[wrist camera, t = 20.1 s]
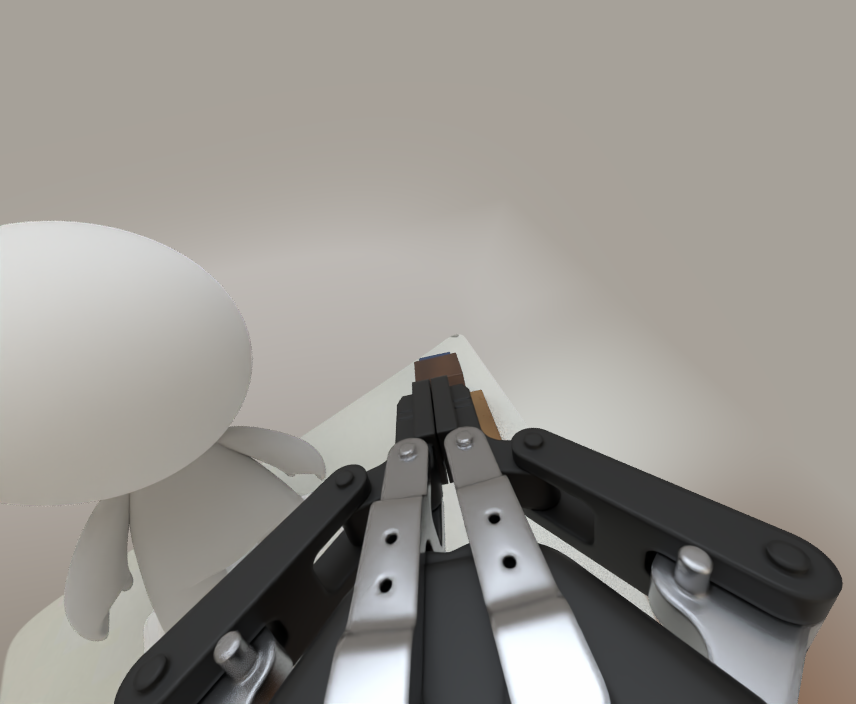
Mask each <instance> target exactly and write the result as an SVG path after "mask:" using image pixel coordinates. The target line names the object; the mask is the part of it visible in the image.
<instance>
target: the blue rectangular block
mask: <svg viewBox="0 0 856 704" xmlns="http://www.w3.org/2000/svg"><path fill="white" fill-rule="evenodd" d="M447 354H450V352H447V353H442V354H437V355H433V356H428V357H424V358H419V361H421V360H425V359H430V358H434V357H439V356H443V355H447Z"/></svg>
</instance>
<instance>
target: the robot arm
mask: <svg viewBox="0 0 856 704" xmlns="http://www.w3.org/2000/svg"><path fill="white" fill-rule="evenodd" d="M430 380H431V383H430ZM430 380H429V379H426V380H421V381H417V382H412V395H407V396H403V397H402V398H401V400H400V401H399V403H398V404H397V419H396V420H397V421H396V440H395V445H394V446H393V447H392V448H391V449H390V451H389V453H388V457H387V461H385V462H384V463H383V464H381V465H379V466H377V467H375V468H373V469H371V470H369V471H367V472H366V470H365V469H364V468H363V467H362V466H360V465H347V466H344V467H342V468H340V469H338V470H336V471H335V472H334V473H333V474H331V475H330V476H329V477H328V478H327V479H326V480H325V481H324V482H323V483H322V484H321V485H320V486H319V487H318V488H317V489H316V490H315V491H314V492H313V493H312V494H311V495H309V496H308V497H307V498H306V499H305V500H304V501H303V502H302V503H301V504H300V505H299V506H298V507H297V508H296V509H295V510H294V511H293V512H292V513H291V514H290V515H289V516H288V517H287V518H285V519H284V520H283V521H282V522H281V523H280V524H279V525H278V526H277V527H276V528H275V529H274V530H273V531H272V532H271V533H270V534H269V535H268V536H267V537H266V538H265V539H264V540H263V541H261V542H260V543H259V544H258V545H257V546H256V547H255V548H254V549H253V550H252V551H251V552H250V553H249V554H248V555H247V556H246V557H245V558H244V559H243V560H242V561H241V562H240V563H238V564H237V565H236V566H235V567H234V568H233V569H232V570H231V571H230V572H229V573H228V574H227V575H226V576H225V577H224V578H223V579H222V580H221V581H220V582H219V583H218V584H217V585H216V586H214V587H213V588H212V589H211V590H210V591H209V592H208V593H207V594H206V595H205V596H204V597H203V598H202V599H201V600H200V601H199V602H198V603H197V604H196V605H195V606H194V607H193V608H192V609H190V610H189V611H188V612H187V613H186V614H185V615H184V616H183V617H182V618H181V619H180V620H179V621H178V622H177V623H176V624H175V625H174V626H173V627H172V628H171V629H170V630H169V631H168V632H166V633H165V634H164V635H163V636H162V637H161V638H160V639H159V640H158V641H157V642H156V643H155V644H154V645H153V646H152V647H151V648H150V649H149V650H148V651H147V652H146V653H145V654H144V655H143V656H142V657H141V658H140V659H139V660H138V661H137V662H136V663H135V664H134V665H133V667H132V668H131V669H130V671H129V672H128V673H127V675H126V677H125V678H124V680H123V682H122V683H121V685H120V687H119V689H118V692H117V694H116V698H115V701H114V704H797V702H798V697H799V691H800V685H801V679H802V673H803V667H804V661H805V655H806V652H807V651H808V649H809V647H810V645H811V643H812V641H813V640H814V638H815V636H816V634H817V633H818V630H819V629H820V627H821V626H822V624H823V622H824V620H825V618H826V617H827V615H828V613H829V611H830V609H831V607H832V606H833V604H834V602H835V601H836V598H837V597H838V595H839V593H840V591H841V590H842V577H841V575H840V573H839V571H838V569H837V568H836V566H835V565H834V563H833V562H832V561H831V560H830V559H829V558H828V557H827V556H826V555H825V554H824V553H823V552H822V551H820V550H819V549H818V548H817V547H815V546H814V545H812V544H811V543H809V542H808V541H806V540H804V539H802V538H800V537H798V536H796V535H794V534H792V533H789V532H787V531H785V530H782V529H780V528H777V527H775V526H773V525H770V524H768V523H765V522H763V521H761V520H758V519H756V518H754V517H751V516H749V515H746V514H744V513H742V512H739V511H737V510H734V509H732V508H730V507H727V506H725V505H722V504H720V503H718V502H715V501H713V500H711V499H708V498H706V497H703V496H701V495H699V494H696V493H694V492H691V491H689V490H687V489H684V488H682V487H680V486H677V485H675V484H673V483H670V482H668V481H665V480H663V479H661V478H658V477H656V476H654V475H651V474H648V473H646V472H644V471H642V470H639V469H637V468H634V467H632V466H630V465H627V464H625V463H622V462H620V461H618V460H615V459H613V458H611V457H608V456H606V455H603V454H601V453H599V452H596V451H594V450H592V449H589V448H587V447H584V446H582V445H580V444H577V443H575V442H573V441H570V440H568V439H565V438H563V437H560V436H558V435H556V434H553V433H551V432H548V431H546V430H543V429H539V428H527V429H523V430H521V431H519V432H517V433H516V434H515V435H514V436H513V438H512V440H497V439H493V438H491V437H489V436H487V435H486V434H485V433H484V432H483V431H482V429H481V426H480V423H479V420H478V417H477V414H476V410H475V407H474V404H473V401H472V398H471V394H470V391H469V389H468V388H467V387H466V386H464V385H463V384H458V385H453V386H449V381H448V377H447V375H444V376H439V377H435V378H431V379H430ZM446 469H447V471H446ZM447 473H448V477H449V481H450V483H453V482H454V485H455V489H456V493H457V497H458V501H459V505H460V508H461V512H462V516H463V520H464V524H465V528H466V532H467V536H468V539H469V543H468V544H466V545H464V546H462V547H460V548H458V549H456V550H454V551H451V552H445V522H444V502H443V499H442V497H443V491H442V485H444V484H448V478H447ZM525 515H526V516H527V517H528V518H530V519H531V520H533V521H534V522H536V523H537V524H539V525H540V526H542V527H543V528H545V529H546V530H548V531H549V532H551V533H552V534H554V535H556V536H557V537H559V538H560V539H562V540H563V541H565V542H566V543H568V544H569V545H571V546H572V547H574V548H575V549H577V550H578V551H580V552H581V553H583V554H584V555H586V556H587V557H589V558H590V559H592V560H593V561H595V562H597V563H598V564H600V565H601V566H603V567H604V568H606V569H607V570H609V571H610V572H612V573H613V574H615V575H616V576H618V577H619V578H621V579H622V580H624V581H625V582H627V583H628V584H630V585H631V586H633V587H634V588H636V589H638V590H639V591H641V592H642V593H644V594H645V595H647V596H648V598H649V603H650V606H651V609H652V611H653V613H654V615H655V616H656V618H657V619H658V620H659V622H660V623H661V624H662V625H663V626H662V625H661V624H659V623H658V622H657V621H655V620H654V619H653V618H651V617H650V616H649V615H647V614H646V613H645V612H643V611H642V610H640V609H639V608H638V607H636V606H635V605H634V604H632V603H631V602H629V601H628V600H627V599H625V598H624V597H623V596H621V595H620V594H619V593H617V592H616V591H614V590H613V589H612V588H610V587H609V586H608V585H606V584H605V583H604V582H602V581H601V580H599V579H598V578H597V577H595V576H594V575H593V574H591V573H590V572H589V571H587V570H586V569H584V568H583V567H582V566H580V565H579V564H578V563H576V562H575V561H574V560H572V559H571V558H569V557H568V556H566V555H564V554H563V553H561V552H559V551H557V550H555V549H553V548H551V547H548V546H546V545H542V544H539V543H537V541H536V539H535V536H534V534H533V532H532V530H531V528H530V525H529V523H528V521H527V519H526V517H525ZM341 527H343V529H344V530H343V531H342V532H341V533H340V534H339V536H338V537H337V538H336V539H335V540H334V541H333V542H332V544H331V545H330V546H329V547H328V548H327V549H326V550H325V552H324V553H323V554H322V555H321V556H320V557H319V558H318V560H317V561H316V562H315V563H314V560H315V558H316V556H317V554H318V553H319V552H320V550H321V549H322V548H323V547H324V546H325V545H326V544H327V543H328V541H329V540H330V539H331V538H332V537H333V536H334V535H335V534H336V532H337V531H338V530H339V529H340V528H341ZM354 585H355V586H354ZM298 660H299V661H298ZM295 664H296V665H295ZM293 667H294V668H293Z"/></svg>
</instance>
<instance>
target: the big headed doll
mask: <svg viewBox="0 0 856 704" xmlns="http://www.w3.org/2000/svg"><path fill="white" fill-rule="evenodd" d="M251 374H252V347H251V341H250V337H249V333H248V330H247V327H246V324H245V321H244V319H243V317H242V315H241V313H240V311H239V309H238V307H237V306H236V304H235V302H234V301H233V299H232V298H231V297H230V295H229V294H228V293H227V291H226V290H225V289H224V288H223V287H222V286H221V284H220V283H219V282H218V281H217V280H216V279H215V278H213V277H212V276H211V275H210V274H209V273H208V272H207V271H206V270H204V269H203V268H202V267H201V266H199V265H198V264H196V263H195V262H193V261H192V260H191V259H189V258H188V257H186V256H185V255H183V254H181V253H180V252H178V251H176V250H174V249H172V248H170V247H168V246H166V245H164V244H162V243H160V242H157V241H155V240H152V239H150V238H147V237H145V236H142V235H139V234H135V233H132V232H129V231H126V230H121V229H117V228H113V227H109V226H103V225H98V224H91V223H82V222H71V221H70V222H69V221H32V222H21V223H12V224H5V225H0V503H2V504H10V505H20V506H62V505H74V504H82V503H89V502H95V501H99V503H98V504H97V506H96V507H95V509H94V510H93V512H92V514H91V515H90V517H89V519H88V521H87V523H86V525H85V527H84V529H83V531H82V533H81V535H80V538H79V540H78V543H77V545H76V548H75V551H74V554H73V557H72V560H71V563H70V567H69V571H68V575H67V580H66V585H65V593H64V606H65V612H66V616H67V619H68V621H69V623H70V625H71V626H72V628H73V629H74V630H75V631H76V632H77V633H78V634H79V635H80V636H82V637H83V638H85V639H88V640H91V641H103V640H105V639H106V638H107V636H108V633H109V610H110V608H111V606H112V605H113V603H114V602H115V600H116V599H117V597H118V596H119V594H120V592H121V591H127V590H129V589H130V588H131V587H132V585H133V577H132V574H131V573H130V571H129V567H128V560H127V542H128V530H129V524H130V532H131V538H132V543H133V547H134V551H135V555H136V558H137V562H138V565H139V569H140V572H141V575H142V579H143V582H144V585H145V588H146V591H147V594H148V596H149V599H150V602H151V604H152V607H153V609H154V611H153V612H152V613H151V614H150V616H149V617H148V618H147V620H146V623H145V625H144V628H143V638H144V652H145V653H146V652H147V651H148V650H149V649H150V648H151V647H152V646H153V645H154V644H155V643H156V642H157V641H158V640H159V639H160V638H161V637H162V636H163V635H164V634H165V633H166V632H168V631H169V630H170V629H171V628H172V627H173V626H174V625H175V624H176V623H177V622H178V621H179V620H180V619H181V618H182V617H183V616H184V615H185V614H186V613H187V612H188V611H189V610H190V609H192V608H193V607H194V606H195V605H196V604H197V603H198V602H199V601H200V600H201V599H202V598H203V597H204V596H205V595H206V594H207V593H208V592H209V591H210V590H211V589H212V588H213V587H214V586H216V585H217V584H218V583H219V582H220V581H221V580H222V579H223V578H224V577H225V576H226V575H227V574H228V573H229V572H230V571H231V570H232V569H233V568H234V567H235V566H236V565H237V564H238V563H240V562H241V561H242V560H243V559H244V558H245V557H246V556H247V555H248V554H249V553H250V552H251V551H252V550H253V549H254V548H255V547H256V546H257V545H258V544H259V543H260V542H261V541H263V540H264V539H265V538H266V537H267V536H268V535H269V534H270V533H271V532H272V531H273V530H274V529H275V528H276V527H277V526H278V525H279V524H280V523H281V522H282V521H283V520H284V519H285V518H287V517H288V516H289V515H290V514H291V513H292V512H293V511H294V510H295V509H296V508H297V507H298V506H299V505H300V504H301V503H302V502H303V501H304V500H305V499H306V498H307V497H308V496H309V495H311V494H312V493H313V492H312V493H309V494H306V495H303V496H300V495H298V494H297V493H296V492H295V491H294V490H293V489H292V488H290V487H289V486H288V485H287V484H286V483H284V482H283V481H282V480H281V479H279V478H278V477H277V476H275V475H274V474H273V473H272V472H270V471H269V470H268V469H266V468H265V467H264V466H262V465H261V464H260V463H258V462H257V461H255V460H254V459H252V458H251V457H253V458H255V459H258V460H260V461H263V462H265V463H268V464H270V465H272V466H274V467H276V468H278V469H280V470H282V471H283V472H285V474H287V475H288V476H290V477H293V476H295V474H315V475H316V476H317V477H318V478H319V479H320V480H323V479H324V478H325V476H326V468H325V463H324V460H323V458H322V456H321V455H320V453H319V452H318V451H317V450H316V449H315V448H314V447H313V446H312V445H310V444H309V443H307V442H306V441H304V440H302V439H300V438H297V437H295V436H292V435H289V434H285V433H282V432H278V431H274V430H270V429H264V428H258V427H247V426H234V427H233V426H232V427H229V426H230V425H231V423H232V422H233V420H234V419H235V417H236V416H237V414H238V412H239V410H240V408H241V406H242V404H243V402H244V400H245V397H246V394H247V391H248V388H249V384H250V379H251ZM249 456H250V457H249ZM343 530H344V529H343V527H341V528H340V529H339V530H338V531H337V532H336V534H335V535H334V536H333V537H332V538H331V539H330V540H329V541H328V543H327V544H326V545H325V546H324V547H323V548H322V549H321V550H320V552H319V553H318V554H317V556H316V558H315V560H314V563H315V562H316V561H317V560H318V558H319V557H320V556H321V555H322V554H323V553H324V552H325V550H326V549H327V548H328V547H329V546H330V545H331V544H332V542H333V541H334V540H335V539H336V538H337V537H338V536H339V534H340V533H341V532H342V531H343ZM354 586H355V585H354ZM298 661H299V660H298ZM295 665H296V664H295ZM293 668H294V667H293Z"/></svg>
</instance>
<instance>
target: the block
mask: <svg viewBox="0 0 856 704" xmlns="http://www.w3.org/2000/svg"><path fill="white" fill-rule="evenodd" d="M414 366H415V380H416V382H417V381H421V380H426V379H429V380H430V379H431V378H435V377H439V376H444V375H447V377H448V381H449V386H453V385H458V384H463V385H464V386H465V382H464V377H463V373H462V370H461V367H460V364H459V361H458V358H457V355H456V353H452V354H447V355H443V356H439V357H434V358H430V359H425V360H421V361H417V362H414ZM430 383H431V380H430ZM470 394H471V398H472V401H473V404H474V407H475V410H476V414H477V417H478V420H479V423H480V426H481V429H482V431H483V432H484V433H485V434H486V435H487V436H489V437H491V438H493V439H497V440H502V439H501V437H500V434H499V432H498V429H497V427H496V424H495V422H494V419H493V417H492V414H491V412H490V409H489V407H488V404H487V402H486V400H485V397H484V395H483V392H482V390H478V391H473V392H470Z"/></svg>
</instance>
